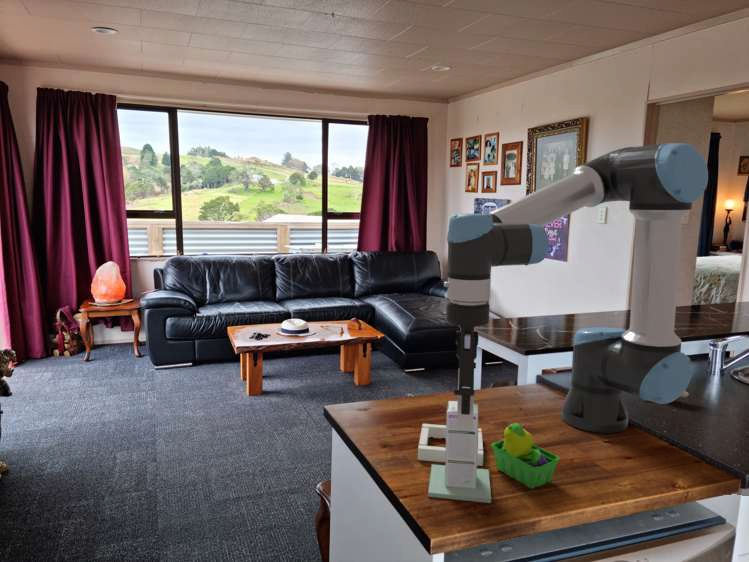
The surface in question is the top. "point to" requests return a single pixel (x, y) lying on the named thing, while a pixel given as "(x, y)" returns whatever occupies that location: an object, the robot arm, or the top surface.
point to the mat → (442, 491)
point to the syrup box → (461, 451)
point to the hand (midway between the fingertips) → (464, 415)
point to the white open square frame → (440, 452)
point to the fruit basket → (523, 457)
